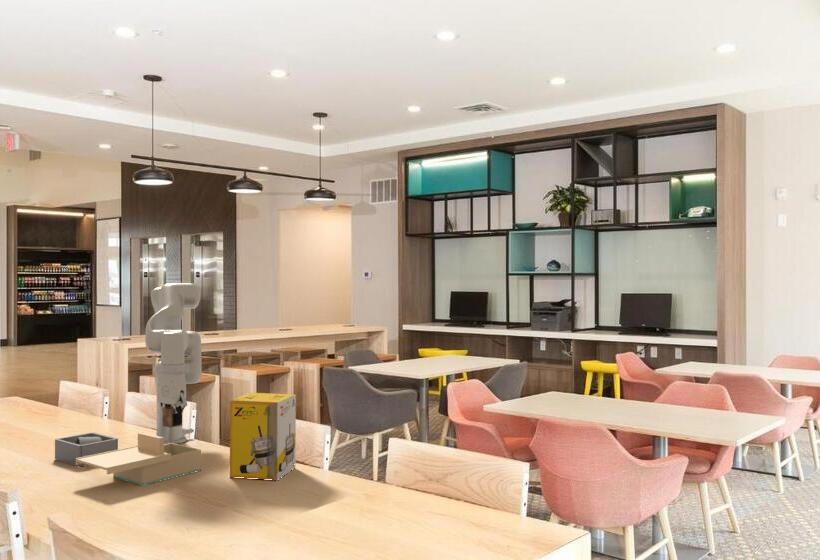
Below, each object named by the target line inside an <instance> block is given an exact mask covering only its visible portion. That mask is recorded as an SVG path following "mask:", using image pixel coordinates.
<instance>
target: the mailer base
mask: <svg viewBox="0 0 820 560" xmlns="http://www.w3.org/2000/svg"><path fill="white" fill-rule="evenodd" d="M164 452H165V453H169V454H170V453H171V460H168V461H164V462H160V463H155V464H151V465H147V466H142V467H138V468H134V469H129V470H125V471H120V472H116V473H112V475H113V476H112V477H113V478H115V479H120V480H122V479H123V480H122V481H127V482H129V481H130V482H129V483H132V482H133V483H132V484H135V485H139V484H140V486H142V485H143V486H146V485H145V484H147V485H150V484H149V483H151V484H154V483H153V482H155V483H158V482H157V481H159V482H161V481H160V480H163V481H165V480H164V479H167V480H169V479H168V478H171V479H173V478H172V477H175V478H177V477H176V476H179V477H181V476H180V475H183V474H187V473H191V472H195V471H199V470H201V471H202V449H199V448H195V447H191V446H186V445H182V444H180V443H179V444H175V443H169V444H164ZM199 472H200V471H199ZM195 473H196V472H195ZM191 474H192V473H191ZM187 475H188V474H187ZM183 476H184V475H183Z"/></svg>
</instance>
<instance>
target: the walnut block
mask: <svg viewBox="0 0 820 560" xmlns="http://www.w3.org/2000/svg"><path fill="white" fill-rule="evenodd" d="M177 408H178V407H177ZM173 414H174V409H173V406H171V407H164V408H163V426H165V427H170V428H172V427H177V426H182V427H183V423H182V424H181V425H176V426H173Z"/></svg>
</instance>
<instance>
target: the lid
mask: <svg viewBox="0 0 820 560" xmlns="http://www.w3.org/2000/svg"><path fill="white" fill-rule="evenodd" d="M168 460H171V453H170V454H169V453H165V452H164V437H159V436H156V435H154V434H151V433H150V434H149V433H146V432H137V445H135V446H130V447H129V446H128V447H124V448H118V450H114V451H109V452H104V453H99V454H94V455H89V456H84V457H79V458H76V465H79V464H87V465H86V466H91V467H94V468H97V469H102V470H105V471H106V475H111V474H112V475H113V473H116V472H120V471H125V470H129V469H134V468H138V467H142V466H147V465H151V464H155V463H160V462H164V461H168Z"/></svg>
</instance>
